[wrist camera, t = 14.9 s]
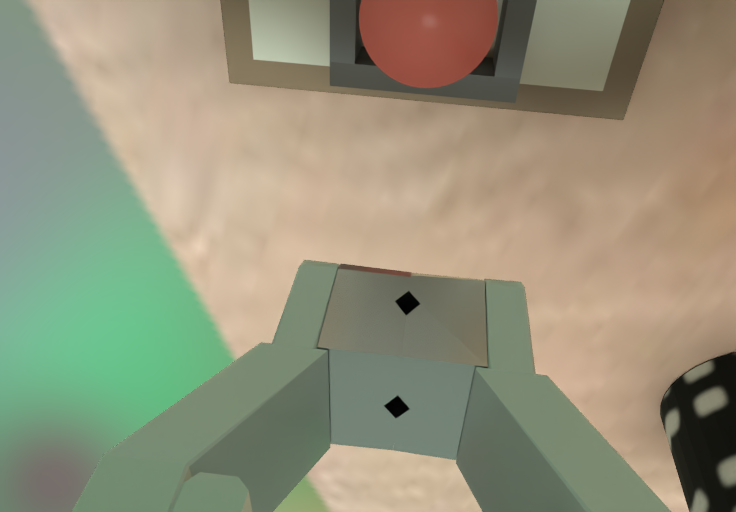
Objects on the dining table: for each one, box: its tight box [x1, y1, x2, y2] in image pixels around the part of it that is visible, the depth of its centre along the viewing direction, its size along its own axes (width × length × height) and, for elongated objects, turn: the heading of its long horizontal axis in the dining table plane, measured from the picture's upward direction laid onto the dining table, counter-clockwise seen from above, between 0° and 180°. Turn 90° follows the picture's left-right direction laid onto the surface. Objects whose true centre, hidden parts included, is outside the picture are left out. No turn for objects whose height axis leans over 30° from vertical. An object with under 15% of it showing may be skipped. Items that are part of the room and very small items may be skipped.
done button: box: [359, 0, 498, 88], centre depth 16 cm, size 4×4×2 cm
